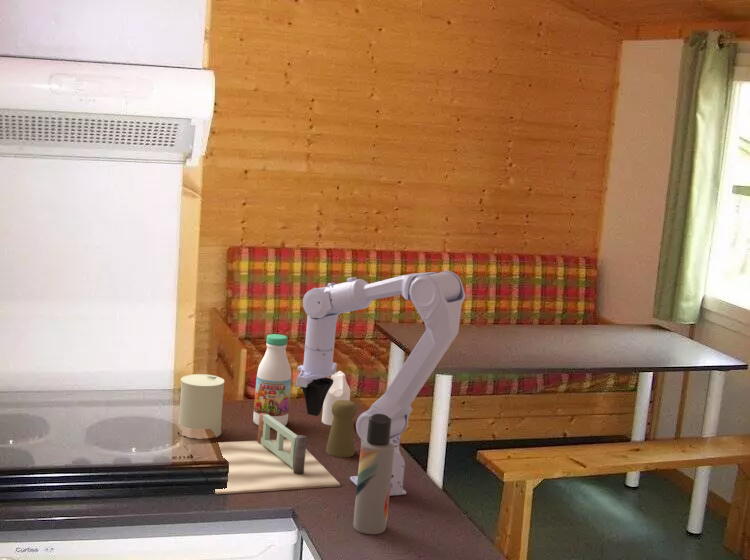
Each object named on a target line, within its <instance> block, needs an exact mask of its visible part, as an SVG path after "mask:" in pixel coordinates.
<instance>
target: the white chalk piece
mask: <svg viewBox="0 0 750 560" xmlns="http://www.w3.org/2000/svg"><path fill="white" fill-rule="evenodd" d="M330 379H333V384H332V386H331V387H330V389H329V391H328V393H327V395H326V397H325V400H324V403H323V406H322V415H321V423H323V424H324V425H327V426H332V421H333V417H334V416H333V414H332V405H333V403H334V402H335V401H338V400H348V401H351V400H350V399H351V388H350V386H349V384H348V382H347V379H346V374H345V373H344V372H343V371H342V370H338V371H336V372H335V373H333V375H332V376H330Z"/></svg>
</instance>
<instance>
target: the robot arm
mask: <svg viewBox="0 0 750 560" xmlns="http://www.w3.org/2000/svg"><path fill="white" fill-rule="evenodd" d="M326 285H327V286H324V287H323V286H322V287H313V288H312V289H310V290H307V292H306V293H305V294H304V296H303V298H302V306H303V310H304V313H305V314H306V315H307V316H306V317H307V318H306V327H305V328H306V331H305V341H304V342H305V343H304V354H303V362H302V363H303V364H300V365H298V366H297V370H298V371H299V372H300V373H299V374H298V375H297V376H296V382H295V383H296V384H295V386H296V387H300V388H301V390H302V392H303V395H304V400H305V405H306V411H307V412H306V413H307V415H310V416H315V417H318V416H320V414H321V412H322V410H323V403H324V400H325V397H326V395H327V393H328V391H329V389H330V387H331V386H332V384H333V379H330V378H331V376H332V375H333V374H335V372H337V367H338V363H337V362H334V352H335V351H334V350H335V343H336V330H337V322H338V319H339V315H340V314H345V313H351V312H355V311H356V312H357V311H359V310H364V309H367V308H369V307H370V305H371V304H372V302H373V300H377V299H378V300H379V299H384V298H390V297H396V296H400V295H401V296H402V297H403V299H405V300H406V301H411V302H412V304H413V306H414V308H415V310H416V311H417V313H418V314H419V316H420V318H421V320H422V321H423V323H424V326H425V331H424V332H423V334H422V336H420V338H419V340H418V342H417V343H416V344H415V346H414V348H413V349H412V350H411V352H410V354H408V355H409V356H408V357H407V358H406V360H405V361H404V363H403V365H402V366H401V368H400V369H399V370H398V372H397V374H396V376H395V377H394V379H393V380H392V382H391V383H390V385H389V386H388V388H387V389H386V391H385V392H384V393H383V395H381V396H380V397H379V398H378V399H377V400H375V401H374V402H372V404H371V406H370V407H369V409H368V410H366V411H363V412H362V413H361V414H360V415H358V417H357V419H356V423H355V429H356V433H357V435H358V437H359V439H360V443H362V442H363V441H364V440H367V432H368V423H369V417H370V416H372V415H374V414H384V415H386V416H388V417H389V418H391V419H392V421H391V433H390V442H391V443H392V444H393V445H394V456H393V466H392V476H391V485H390V495H389V497H390V496H391V497H392V496H401V495H406V494H407V491H406V490H405V489H404V488H403V487H404V478H405V477H404V476H405V468H406V464H405V462H406V461H405V459H404V456H402V453H401V452H400V440H401V434H402V433H404V432H405V431H406V430H407V427H408V424H409V417H410V415H411V413H412V412H413V407H412V406H411V405H412V403H413V402H414V400H415V399H416V397H417V396H418V394H419V393H420V391H421V390H422V388H423V387H424V386H425V384H426V383H427V381H428V379H429V378H430V376H431V374H433V372H434V370H435V369H436V367H437V365H438V364H439V363H440V361H441V360H442V358H443V357H444V355H445V353H446V352H447V351H448V350H449V348H450V347H451V344H452V343H453V342H454V340H455V339H456V338H457V336H458V334H459V331H460V330H459V329H460V323H461V313H462V312H461V311H462V305H463V303H464V302H465V299H466V297H467V296H466V292H465V288H464V286H463V282H462V280H461V278H460V276H458V275H457V274H456V273H455V272H453V271H452V270H451V271H450V270H443V271H442V270H441V271H440V272H436V271H432V272H431V271H430V272H429V271H428V272H417V273H416V272H415V273H408V274H403V275H399V276H395V277H392V278H387V279H383V280H380V281H375V282H371V283H368V282H367V281H366V280H364V279H362V278H358V279H357V277H356V276H352V277H348V278H347V279H346V282H341V283H340V282H339V283H336V282H330V283H326ZM329 377H330V378H329ZM349 480H350V481H351V482H352V483H353V484H354V485H355V486H356V487H357V480H358V475H356V476H355V475H353V476H352V475H351V476H350V477H349Z"/></svg>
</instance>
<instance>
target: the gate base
mask: <svg viewBox="0 0 750 560" xmlns="http://www.w3.org/2000/svg"><path fill="white" fill-rule="evenodd" d="M263 415H269V414H267V413H261V414H259V426H258V429H257V440H244V441H243V440H242V441H240V440H239V441H224V442H221V441H220V442H219V441H218V444H219V447H220V450H221V453H222V456H223V458H225V459H226V460H227V461H228V462H229V473H228V482H227V488H225V489H224V488H223V489H215V492H214V493H215V494H216V495H226V494H227V495H228V494H243V493H255V492H256V493H258V492H273V491H274V492H275V491H288V490H289V491H290V490H303V489H318V488H319V489H320V488H321V489H322V488H330V487H331V488H333V487H336V488H337V487H341V483H340V482H339V481H338V480H337V479H336V478H335V477H334V476H333V475H332V474H331V472H329V471H328V470H327V469H326V468H325V466H323V465H322V464H321V462H319V460H317V458H315V457H314V455H312V454H311V452H310V451H309V450H308V449H307V440H308V437H307V436H306V435H302V434H301V435H300V434H298V435H297V436H296V447H295V459H294V468H292V467H291V466H290V465H288V464H287V463H286V462H285V461H283V460H282V459H281V458H279V457H278V456H277V455H276V454H274V453H273V452H272V451H271V450H269V449H268V448H267V447H265V446H264V445H263V444H262V443H261V437H263V424H264V421H263ZM270 440H271V441H273V442H274V443H275V444H276V439H270ZM283 450H284V451H286V452H287V453H288V454H290V452H291V441H290V440H288V439H287V438H284V442H283Z"/></svg>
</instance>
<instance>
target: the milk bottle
mask: <svg viewBox="0 0 750 560" xmlns="http://www.w3.org/2000/svg"><path fill="white" fill-rule="evenodd" d="M288 341H289V340H288V336H287V335H284V334H277V333H272V334H268V335H267V336H266V345H265V346H266V350H265V353H264V356H263V357H262V360H261V361H260V363H259V364H258V368H257V373H256V380H255V389H254V390H255V391H254V393H255V394H254V404H253V416H252V417H253V419H252V420H253V423H254V424H255V425H256V426H258V427H259V414H261V413H267V414H269V415H270V416H271V417H272V418H274V419H275V420H277V421H278V422H279V423H281V424H282V425H284V426H285V427H286V425H287V424H288V421H289V412H290V411H289V410H290V400H291V386H292V369H291V365H290V362H289V360H288V359H289V358H288V356H287V350H286V349H287V347H288ZM270 429H273V428H272V427H271V426H270Z"/></svg>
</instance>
